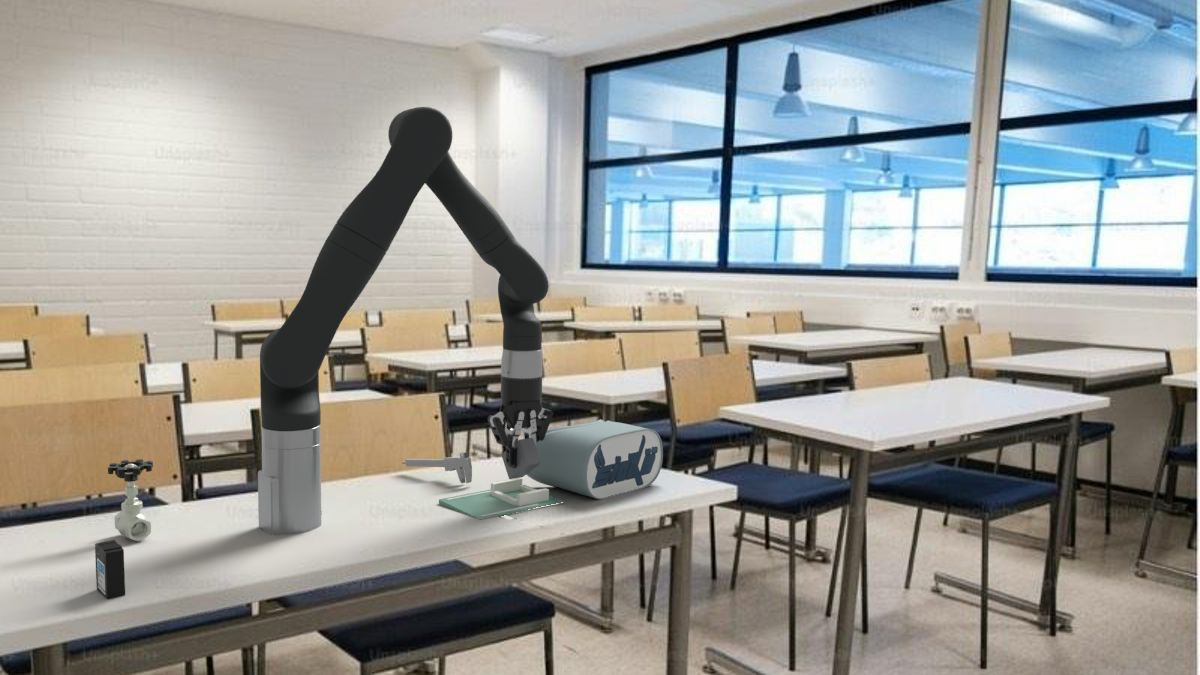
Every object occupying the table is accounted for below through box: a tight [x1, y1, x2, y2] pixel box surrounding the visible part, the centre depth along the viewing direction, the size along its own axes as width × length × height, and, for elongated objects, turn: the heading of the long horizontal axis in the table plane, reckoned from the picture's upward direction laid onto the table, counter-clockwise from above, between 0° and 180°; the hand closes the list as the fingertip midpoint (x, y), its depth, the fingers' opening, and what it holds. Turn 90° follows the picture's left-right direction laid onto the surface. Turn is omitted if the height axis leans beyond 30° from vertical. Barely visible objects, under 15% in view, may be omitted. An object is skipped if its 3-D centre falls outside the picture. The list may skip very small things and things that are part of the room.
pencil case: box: [525, 418, 664, 500], centre depth 181 cm, size 22×19×13 cm
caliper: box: [401, 451, 473, 484], centre depth 185 cm, size 20×1×6 cm, turn 51°
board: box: [438, 477, 565, 521], centre depth 167 cm, size 18×14×3 cm
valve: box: [107, 458, 154, 542], centre depth 145 cm, size 7×7×12 cm
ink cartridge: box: [94, 539, 126, 600], centre depth 120 cm, size 5×2×8 cm, turn 43°
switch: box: [500, 438, 541, 480], centre depth 168 cm, size 3×5×8 cm
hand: (520, 465), depth 168 cm, fingers closed on switch, 2 cm apart
